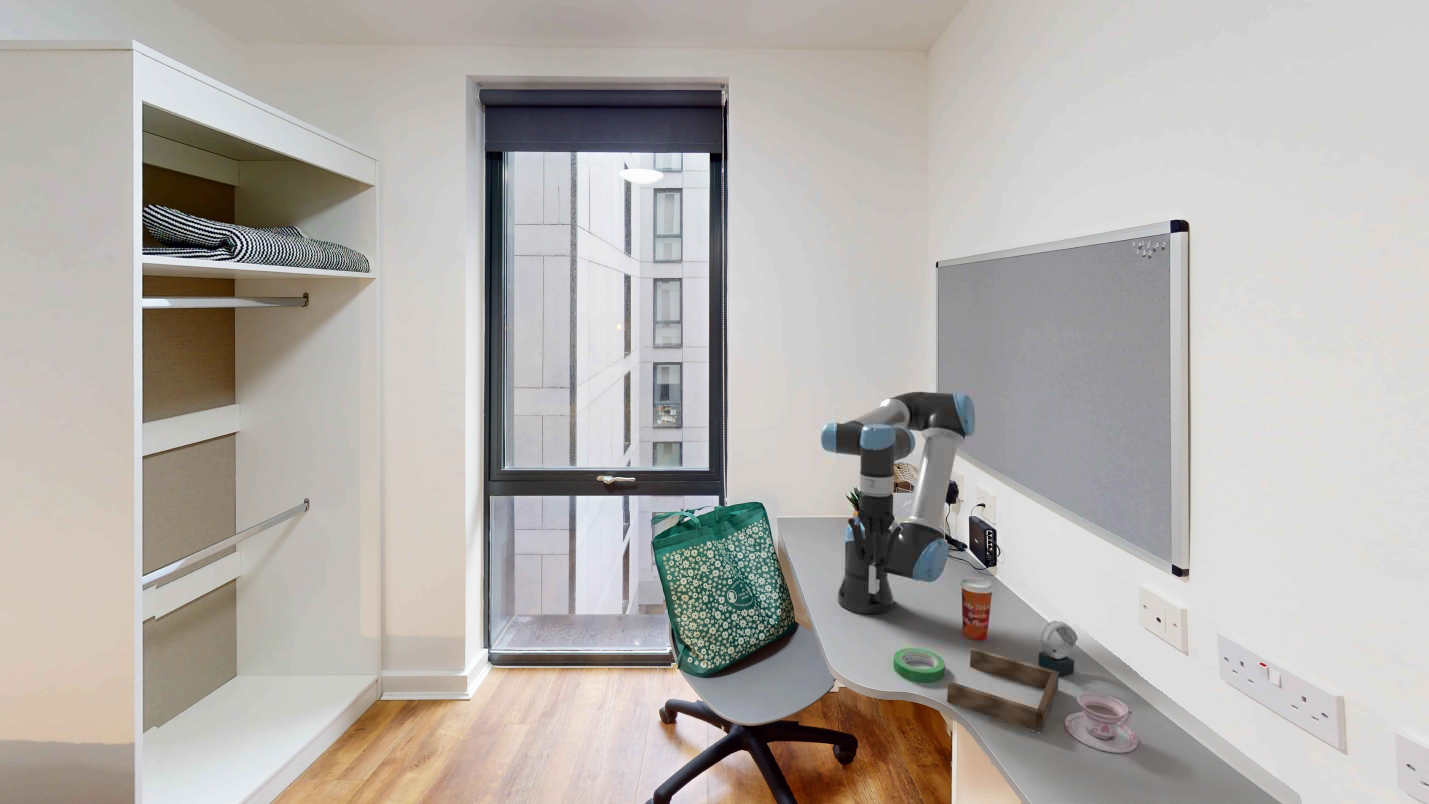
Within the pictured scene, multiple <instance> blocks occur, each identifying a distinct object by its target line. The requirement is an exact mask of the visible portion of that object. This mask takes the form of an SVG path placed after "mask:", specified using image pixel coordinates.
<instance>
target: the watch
mask: <svg viewBox="0 0 1429 804" xmlns="http://www.w3.org/2000/svg"><path fill="white" fill-rule="evenodd" d="M1054 632H1056V633H1057V635H1059V637H1060V638H1061V641H1063V642H1062V645H1061V647H1060V648H1059V649H1058V650H1056V649H1054V648H1052V644H1051V640H1050V639H1051V637H1052V636H1053V634H1054ZM1078 639H1079V638H1078V635H1077V633H1076V632H1075V630H1074V629H1073V628H1072V626H1070V625H1069V624H1067V623H1066V622H1063V621H1061V620H1060V621H1057V620H1053V621H1050V622H1048V623H1047V624H1046V625H1045V626H1044V628H1043V630H1042V632H1041V636H1040V645H1041V647H1042V650H1043V651H1039V652H1038V665H1037V666H1040V667H1043V668H1047V669H1051V670H1054V671H1058V672H1059V678H1063V677H1066V676H1071V675H1074V670H1075V669H1074V668H1075V660H1074V659H1072V658H1071V657H1069V656H1068V655H1069V654H1070V653H1071V652H1072V650H1073V649H1074V647H1075V646H1076V643H1077V640H1078Z"/></svg>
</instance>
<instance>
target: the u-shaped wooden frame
mask: <svg viewBox="0 0 1429 804" xmlns="http://www.w3.org/2000/svg"><path fill="white" fill-rule="evenodd" d="M969 657H970V658H969V660H970V661H969V667H971V668H975V669H978V670H982V671H985V672H987V673H991V674H995V675H998V676H1002V677H1004V678H1008V679H1011V680H1015V681H1018V682H1021V683H1025V684H1029V685H1032V686H1035V687H1038V688H1041V689H1044V691H1043V693H1042V695H1041V698H1040V701H1039V704H1038V706H1037V708H1035V707H1033V706H1029V705H1027V704H1023V703H1020V702H1017V701H1014V700H1010V699H1009V698H1008V699H1007V698H1005V697H1001V696H998V695H995V694H991V693H990V692H989V693H988V692H985V691H983V690H979V689H976V688H972V687H969V686H966V685H964V684H963V685H962V684H959V683H956V682H954V681H948V683H947V694H946V695H947V697H946V703H948V702H949V704H951V703H952V705H954V704H955V705H956V706H957V705H959V706H958V707H960V706H961V708H964V709H966V708H967V710H970V711H973V712H976V713H978V714H982V715H985V716H987V717H990V718H994V719H998V720H1000V721H1002V720H1003V722H1006V723H1008V722H1009V724H1011V723H1012V724H1011V725H1014V724H1015V725H1014V726H1017V725H1019V726H1018V727H1020V726H1022V727H1021V728H1023V727H1025V728H1024V729H1026V728H1028V729H1027V730H1029V729H1031V730H1030V731H1032V730H1034V731H1033V732H1035V731H1036V733H1038V732H1040V733H1039V734H1041V733H1042V734H1043V731H1044V729H1045V726H1046V724H1047V723H1046V722H1047V720H1048V718H1049V715H1050V713H1051V710H1052V706H1053V704H1054V701H1055V698H1056V696H1057V692H1058V690H1059V678H1060V677H1059V672H1058V671H1054V670H1051V669H1047V668H1043V667H1040V666H1039V665H1036V664H1032V663H1029V662H1025V661H1021V660H1017V659H1014V658H1010V657H1008V656H1007V657H1006V656H1003V655H1000V654H996V653H992V652H989V651H986V650H982V649H978V648H974V647H971V648H970V655H969ZM955 705H954V706H955Z"/></svg>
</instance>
